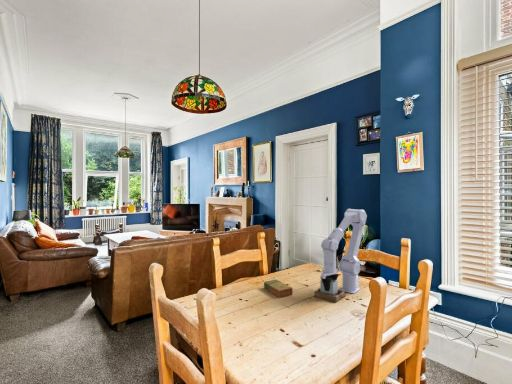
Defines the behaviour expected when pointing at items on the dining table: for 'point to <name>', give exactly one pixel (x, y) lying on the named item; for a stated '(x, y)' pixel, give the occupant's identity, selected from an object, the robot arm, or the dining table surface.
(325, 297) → the big crate
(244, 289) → the dining table surface
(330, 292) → the small crate
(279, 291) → the carton
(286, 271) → the dining table surface
